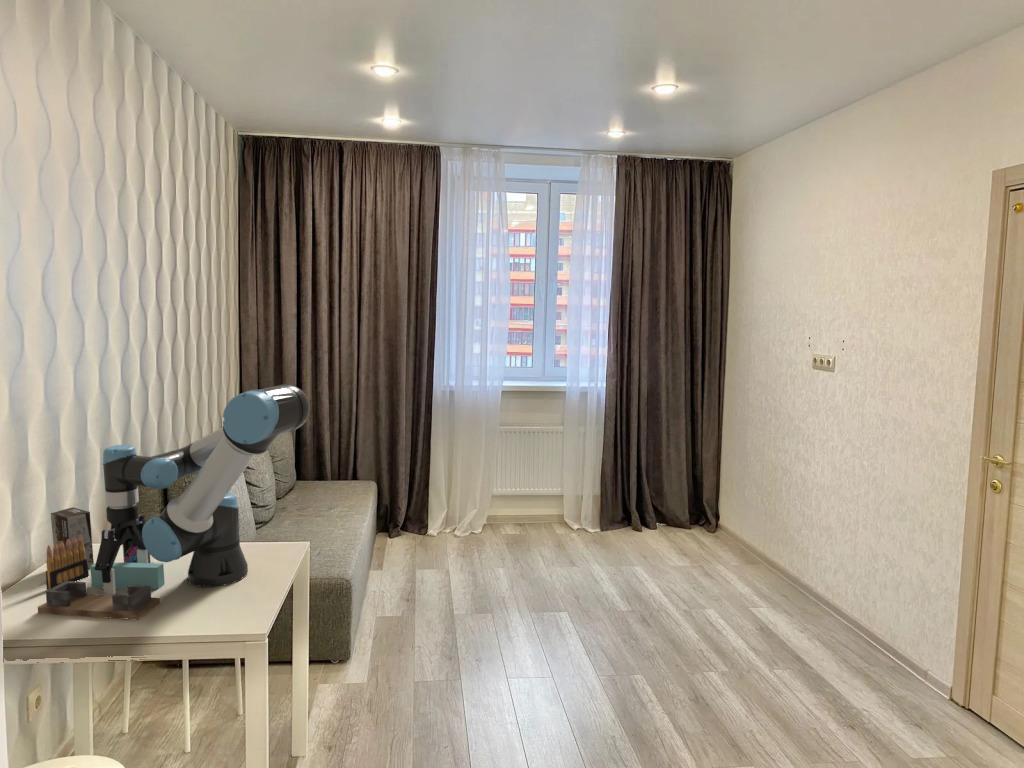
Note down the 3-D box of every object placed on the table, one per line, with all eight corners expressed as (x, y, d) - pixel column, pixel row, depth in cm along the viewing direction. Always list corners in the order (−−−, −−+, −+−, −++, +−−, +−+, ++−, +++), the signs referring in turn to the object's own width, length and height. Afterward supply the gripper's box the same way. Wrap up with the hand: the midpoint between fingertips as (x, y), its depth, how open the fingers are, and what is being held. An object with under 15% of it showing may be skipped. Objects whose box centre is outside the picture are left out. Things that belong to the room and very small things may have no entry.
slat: (164, 585, 195) (163, 563, 194) (158, 589, 192) (157, 567, 191) (98, 583, 196) (97, 562, 195) (91, 588, 193) (90, 566, 192)
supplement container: (118, 570, 205) (115, 534, 203) (136, 561, 211) (133, 526, 210) (138, 572, 203) (136, 536, 202) (156, 563, 210) (154, 528, 208)
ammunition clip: (51, 591, 191) (47, 546, 189) (46, 590, 191) (42, 545, 190) (89, 576, 200) (85, 533, 199) (84, 575, 201) (81, 533, 200)
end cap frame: (160, 603, 183) (159, 584, 183) (137, 619, 174) (135, 599, 174) (65, 597, 187) (63, 578, 186) (38, 613, 178) (36, 593, 177)
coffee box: (95, 567, 207) (91, 511, 205) (71, 574, 201) (66, 517, 199) (78, 560, 212) (73, 506, 210) (54, 568, 206) (49, 512, 204)
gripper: (139, 490, 204) (143, 564, 207) (74, 519, 179) (80, 601, 182) (164, 492, 203) (168, 565, 206) (102, 520, 178) (108, 604, 181)
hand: (127, 582), depth 194 cm, fingers open, 13 cm apart
